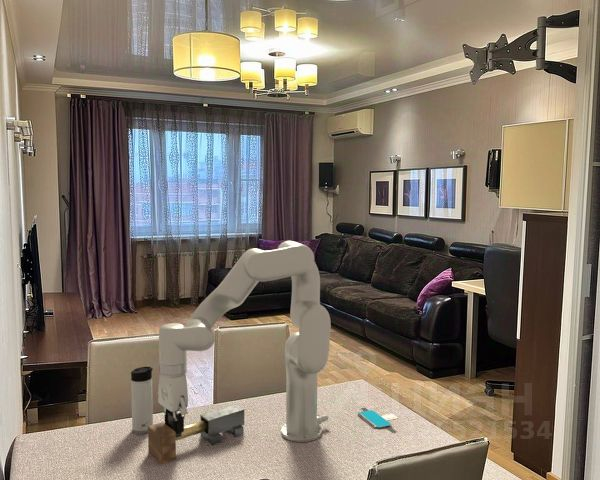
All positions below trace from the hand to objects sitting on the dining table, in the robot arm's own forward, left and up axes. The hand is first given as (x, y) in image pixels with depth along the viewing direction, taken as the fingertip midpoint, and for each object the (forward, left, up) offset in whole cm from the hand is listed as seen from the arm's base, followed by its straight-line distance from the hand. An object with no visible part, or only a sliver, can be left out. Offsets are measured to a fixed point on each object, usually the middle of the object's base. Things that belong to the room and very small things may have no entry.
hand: (174, 429), depth 153 cm
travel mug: (+1, -19, -7) cm, 20 cm away
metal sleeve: (-16, 0, -7) cm, 17 cm away
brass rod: (-4, 0, -3) cm, 5 cm away
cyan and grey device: (-62, +23, -8) cm, 67 cm away
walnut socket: (+4, 0, -7) cm, 8 cm away
